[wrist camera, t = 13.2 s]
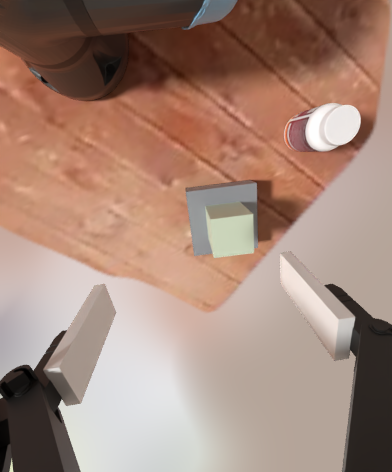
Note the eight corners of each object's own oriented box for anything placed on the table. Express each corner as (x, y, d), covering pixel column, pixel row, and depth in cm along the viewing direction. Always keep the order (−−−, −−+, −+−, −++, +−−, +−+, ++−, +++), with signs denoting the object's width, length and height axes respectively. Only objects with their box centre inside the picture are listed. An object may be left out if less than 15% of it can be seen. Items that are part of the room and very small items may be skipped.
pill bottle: (302, 158, 40) (342, 161, 30) (275, 139, 39) (308, 135, 29) (325, 125, 38) (377, 116, 28) (298, 104, 37) (342, 86, 27)
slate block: (185, 188, 41) (185, 191, 37) (250, 179, 41) (256, 182, 37) (193, 247, 45) (194, 255, 42) (251, 239, 45) (257, 247, 42)
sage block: (205, 206, 38) (210, 219, 31) (239, 201, 38) (253, 214, 31) (208, 238, 40) (214, 258, 33) (241, 233, 41) (254, 252, 33)
